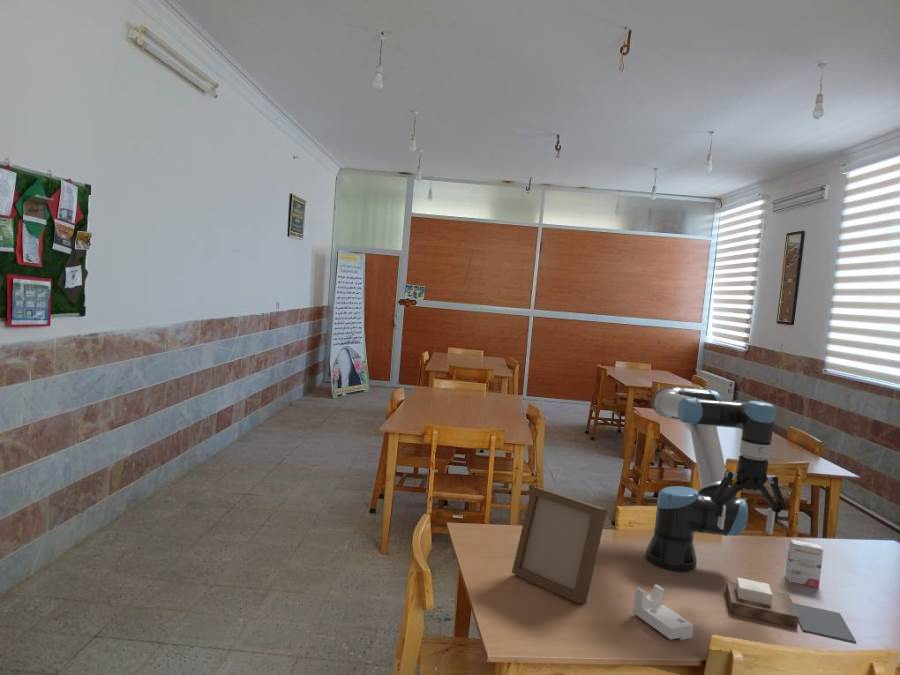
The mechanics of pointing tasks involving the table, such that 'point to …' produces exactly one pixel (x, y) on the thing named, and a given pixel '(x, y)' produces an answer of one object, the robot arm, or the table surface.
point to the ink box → (804, 563)
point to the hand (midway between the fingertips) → (744, 530)
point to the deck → (764, 607)
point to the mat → (823, 623)
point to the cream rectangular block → (753, 591)
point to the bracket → (661, 614)
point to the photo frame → (559, 543)
